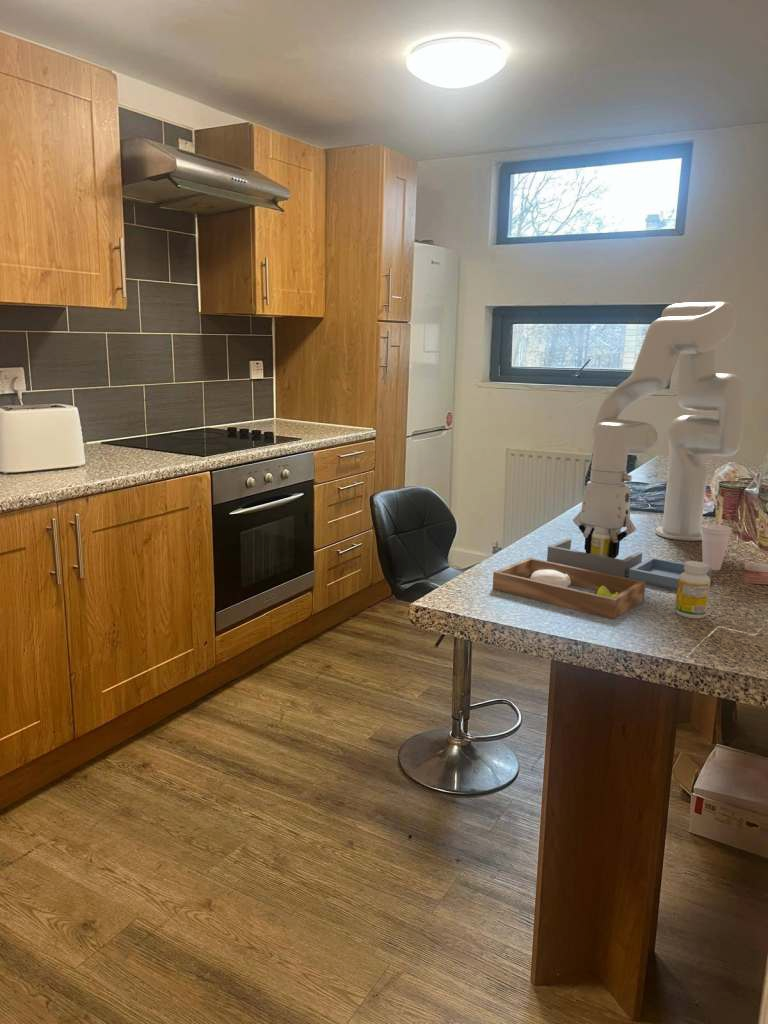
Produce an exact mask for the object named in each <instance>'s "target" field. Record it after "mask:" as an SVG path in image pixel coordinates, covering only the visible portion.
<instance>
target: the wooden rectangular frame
mask: <svg viewBox="0 0 768 1024" xmlns="http://www.w3.org/2000/svg"><path fill="white" fill-rule="evenodd" d="M546 569H549V570H556V571H559V572H561V573H563V574H568V576H569V577H570V581H571V583H570V585H573V586H577V587H580V588H585V589H590V590H595V591H598V589H599V588H600V587H601V586H605V587H606V588H607V589H608V590H609V592H610V593H616V592H618V593H619V594H618V595H616V596H615V597H613V598H611V597H606V596H602V595H598V594H594V593H593V592H587V591H584V590H580V589H575V588H571V587H568V586H567V587H563V586H558V585H554V584H550V583H545V582H541V581H537V580H532V579H530V578H528V577H529V576H530V577H531V575H532V573H533V572H535V571H537V570H546ZM492 575H493V577H492V590H495V591H499V592H501V593H502V592H503V593H505V594H507V593H508V594H510V595H515V596H519V597H523V598H526V599H531V600H535V601H538V602H539V601H540V602H544V603H548V604H550V605H551V604H552V605H555V606H560V607H564V608H567V609H572V610H576V611H580V612H584V613H587V614H592V615H596V616H600V617H603V618H608V619H612V620H614V619H616V618H618V617H619V616H620V615H622V614H624V613H625V612H627V611H629V610H630V609H631V608H633V607H634V606H636V605H638V604H640V602H642V601H644V600H645V595H646V594H645V593H646V585H647V584H646V582H644V581H639V580H634V579H629V578H628V577H620V576H615V575H610V574H605V573H601V572H596V571H591V570H586V569H582V568H577V567H572V566H567V565H562V564H558V563H553V562H548V561H547V560H543V559H538V558H534V557H528V558H525V559H522V560H521V561H518V562H516V563H513V564H510V565H508V566H505V567H503V568H500V569H498V570H495V571H493V573H492Z"/></svg>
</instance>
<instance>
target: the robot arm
mask: <svg viewBox="0 0 768 1024" xmlns="http://www.w3.org/2000/svg"><path fill="white" fill-rule="evenodd" d="M737 313H738V312H737V310H736V308H735V306H734V305H733V304H731V303H730V302H726V301H707V302H697V301H696V302H680V303H674V304H671V305H668V306H666V307H665V308H664V309H663V310H662V313H661V317H659V318H657V319H655V320H654V321H652V322H651V323H650V325H649V326H648V329H647V331H646V333H645V336H644V339H643V342H642V343H641V344H642V345H641V348H640V351H639V353H638V355H637V359H636V362H635V364H634V367H633V371H632V372H631V374H630V375H629V376H628V378H626V379H625V380H624V381H622V382H621V383H620V384H618V385H617V386H616V387H615V388H614V389H613V390H612V391H611V392H609V394H608V395H607V396H606V397H605V399H604V400H603V402H602V404H601V406H600V408H599V411H598V412H597V416H596V418H595V422H594V425H593V428H592V442H593V443H592V444H593V445H592V457H591V468H590V469H591V470H590V479H589V481H587V482H586V487H585V489H584V493H583V497H582V498H583V499H582V503H581V507H580V511H579V512H578V513H577V515H576V516H575V517H574V518H573V519H572V522H573V523H574V525H576V527H578V529H579V530H580V532H581V533H582V534H583V538H585V539H584V551H585V553H589V554H590V552H591V539H592V534H593V533H594V526H595V527H596V526H597V527H603V528H606V529H611V535H612V542H610V546H609V557H610V558H615V559H617V557H618V555H619V553H620V544H621V543H620V542H621V541H622V540H623V539H624V538H626V537H628V536H630V534H633V533H635V532H636V531H637V528H636V526H635V525H634V523H633V521H632V520H631V515H630V514H631V497H630V496H631V493H630V485H628V484H626V483H627V482H631V481H632V479H633V476H632V475H629V474H628V471H627V467H628V456H629V454H631V455H645V454H648V453H649V452H651V451H652V450H653V449H654V448H655V446H656V445H657V441H658V433H657V429H656V428H655V427H654V425H653V424H652V423H649V422H647V421H641V420H630V419H624V418H622V419H621V418H619V417H620V415H621V413H623V411H624V410H625V409H626V408H627V407H629V406H630V405H631V404H633V403H635V402H637V401H639V400H641V399H644V398H647V397H650V396H652V395H654V394H656V393H660V392H662V391H663V390H665V389H666V388H667V387H668V386H669V384H670V380H671V378H672V375H673V373H674V370H675V367H676V364H678V365H677V381H676V383H677V384H676V402H677V404H678V406H679V407H680V408H682V409H684V410H688V411H695V412H697V411H698V412H707V413H708V412H709V413H717V415H718V417H717V416H716V417H715V416H706V415H693V414H690V415H689V414H685V415H680V416H678V417H675V418H674V419H673V420H672V421H671V422H670V424H669V426H668V431H667V432H668V433H667V440H668V453H669V454H668V455H669V456H668V470H667V478H666V479H667V480H666V490H665V497H664V498H665V499H664V508H663V515H662V516H663V518H662V526H658V527H656V528H655V534H656V535H658V536H660V537H662V538H666V539H671V540H676V541H685V542H696V541H697V542H698V541H702V530H701V525H703V524H702V523H703V514H704V506H705V498H706V491H707V489H706V488H707V481H708V467H707V464H706V462H705V460H704V458H703V456H702V455H707V456H715V457H731V456H734V455H735V454H736V453H737V452H738V451H739V450H740V448H741V445H742V439H743V432H744V421H745V407H746V394H747V393H746V386H745V383H744V382H745V381H744V380H743V379H742V378H741V377H740V376H739V375H737V374H735V373H724V372H723V373H722V372H716V351H715V348H716V347H717V346H719V344H721V343H723V342H724V341H725V340H727V339H728V338H729V337H730V336H731V335H732V334H733V332H734V330H735V329H736V325H737V322H738V315H737ZM677 360H678V363H677ZM623 528H626V529H624V531H622V530H621V529H623Z"/></svg>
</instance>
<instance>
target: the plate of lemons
mask: <svg viewBox="0 0 768 1024" xmlns="http://www.w3.org/2000/svg"><path fill="white" fill-rule="evenodd" d="M593 594H598V595H602V596H606V597H611V598H613V597H615V596H616V595H618V594H619V593H618V592H616V593H610V592H609V590H608V589H607V588H606V587H605V586H601V587H600V588H599V589H598V590H597V592H594V593H593Z"/></svg>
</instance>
